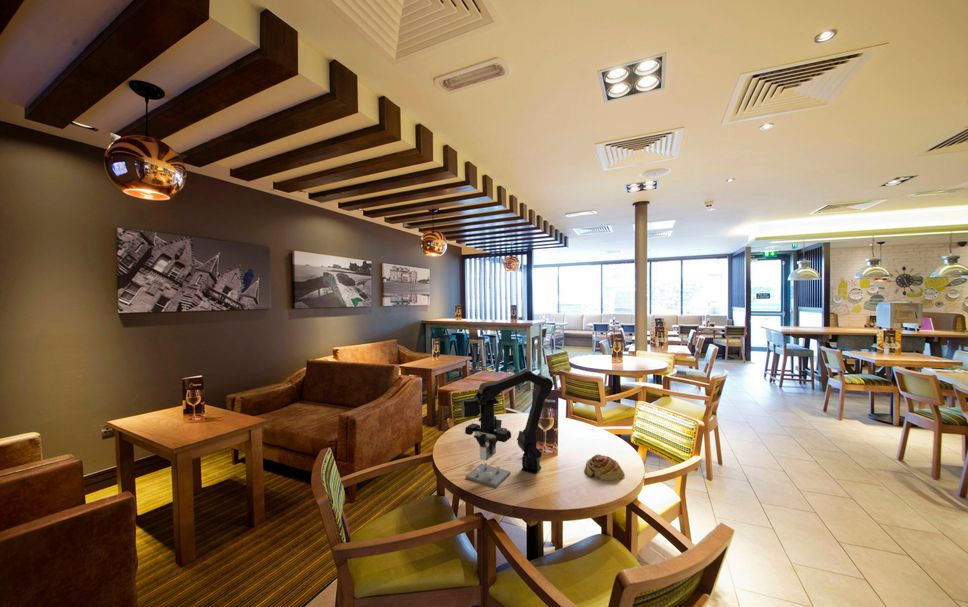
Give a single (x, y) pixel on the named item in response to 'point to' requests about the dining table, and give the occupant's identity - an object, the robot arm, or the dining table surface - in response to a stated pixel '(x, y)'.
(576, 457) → the dining table surface
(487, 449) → the block
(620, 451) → the dining table surface
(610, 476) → the pastry
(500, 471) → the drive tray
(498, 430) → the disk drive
